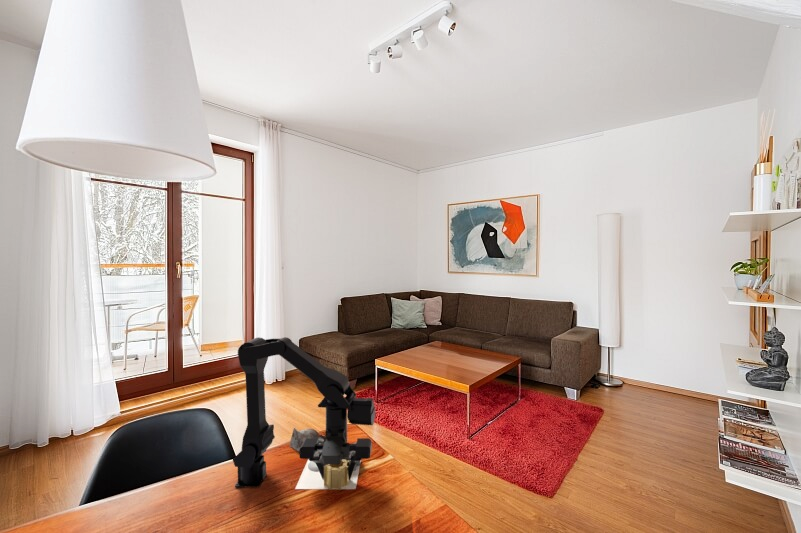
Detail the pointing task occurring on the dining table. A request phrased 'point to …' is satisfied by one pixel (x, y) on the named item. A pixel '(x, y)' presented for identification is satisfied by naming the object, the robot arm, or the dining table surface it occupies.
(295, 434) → the caster wheel
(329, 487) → the brass gear
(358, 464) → the gear
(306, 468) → the gear board
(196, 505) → the dining table surface
